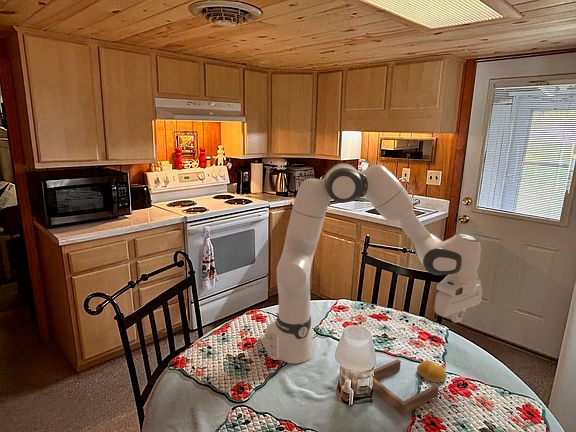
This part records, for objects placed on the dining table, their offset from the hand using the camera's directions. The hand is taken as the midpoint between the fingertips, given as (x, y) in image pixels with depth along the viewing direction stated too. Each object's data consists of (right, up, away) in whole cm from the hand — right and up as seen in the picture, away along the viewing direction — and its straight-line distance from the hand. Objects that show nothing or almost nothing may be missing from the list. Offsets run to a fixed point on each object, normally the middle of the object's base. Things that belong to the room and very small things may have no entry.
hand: (456, 321), depth 131 cm
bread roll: (-9, -18, -1) cm, 20 cm away
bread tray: (-21, -19, -8) cm, 30 cm away
